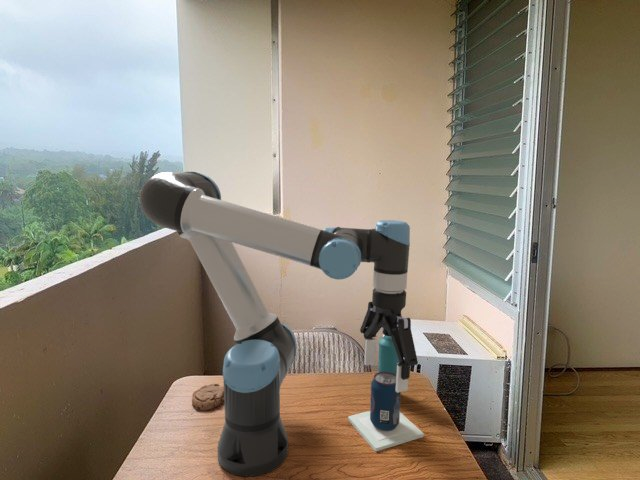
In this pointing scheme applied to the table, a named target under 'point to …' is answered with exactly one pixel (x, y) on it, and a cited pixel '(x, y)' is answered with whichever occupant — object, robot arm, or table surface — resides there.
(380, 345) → the beverage bottle
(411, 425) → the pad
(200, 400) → the cookie
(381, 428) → the soda can
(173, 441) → the table surface
